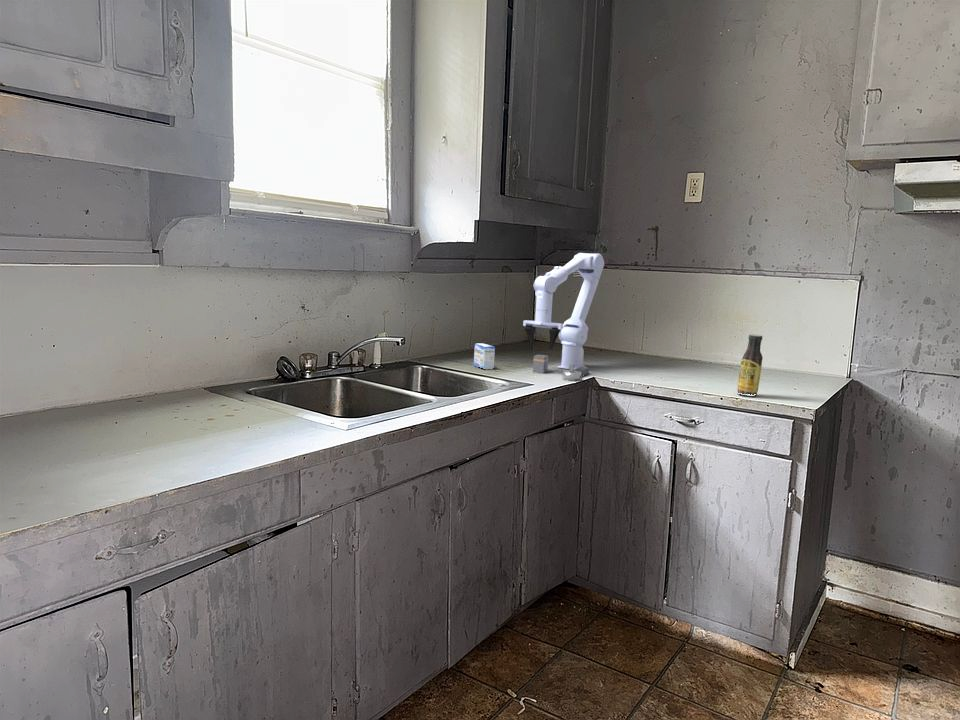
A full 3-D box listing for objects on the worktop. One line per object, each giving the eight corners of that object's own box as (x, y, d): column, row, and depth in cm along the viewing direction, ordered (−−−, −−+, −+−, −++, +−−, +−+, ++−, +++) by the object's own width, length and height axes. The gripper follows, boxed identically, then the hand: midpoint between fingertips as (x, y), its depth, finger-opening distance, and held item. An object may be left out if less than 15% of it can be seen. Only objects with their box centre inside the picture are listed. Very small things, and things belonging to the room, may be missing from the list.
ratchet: (576, 372, 244) (577, 358, 243) (592, 374, 241) (593, 360, 240) (559, 379, 228) (560, 365, 228) (576, 381, 226) (577, 367, 225)
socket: (537, 370, 244) (537, 354, 243) (547, 371, 242) (548, 355, 241) (532, 372, 240) (533, 355, 239) (543, 373, 238) (544, 357, 237)
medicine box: (473, 366, 247) (474, 343, 246) (483, 365, 249) (484, 343, 248) (483, 370, 240) (484, 346, 239) (494, 369, 242) (495, 346, 241)
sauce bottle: (732, 394, 216) (739, 333, 212) (743, 392, 220) (750, 333, 216) (751, 398, 211) (758, 336, 207) (762, 396, 214) (769, 335, 211)
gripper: (520, 309, 237) (518, 346, 239) (558, 312, 231) (556, 350, 233) (528, 307, 243) (526, 344, 246) (565, 311, 237) (563, 348, 239)
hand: (541, 347), depth 240 cm, fingers open, 7 cm apart
